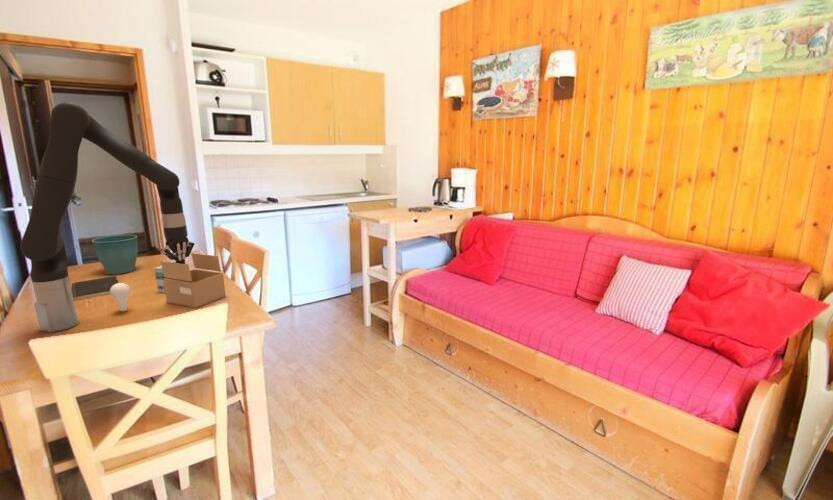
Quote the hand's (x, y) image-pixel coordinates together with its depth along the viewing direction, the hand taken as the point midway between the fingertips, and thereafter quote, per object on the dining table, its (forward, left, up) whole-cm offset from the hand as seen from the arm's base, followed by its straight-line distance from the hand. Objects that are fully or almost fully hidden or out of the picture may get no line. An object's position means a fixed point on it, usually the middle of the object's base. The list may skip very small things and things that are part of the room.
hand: (181, 269), depth 157 cm
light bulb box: (+10, +21, -14) cm, 27 cm away
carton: (+4, 0, -14) cm, 15 cm away
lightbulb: (-15, +15, -14) cm, 25 cm away
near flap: (-2, 0, 0) cm, 2 cm away
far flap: (+11, 0, 0) cm, 11 cm away
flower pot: (+20, +70, -14) cm, 74 cm away
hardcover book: (-2, +52, -15) cm, 54 cm away
